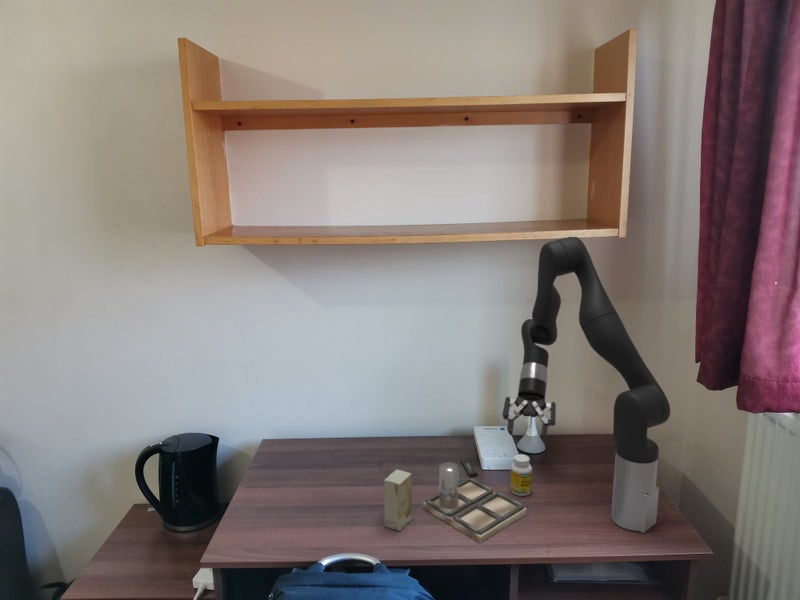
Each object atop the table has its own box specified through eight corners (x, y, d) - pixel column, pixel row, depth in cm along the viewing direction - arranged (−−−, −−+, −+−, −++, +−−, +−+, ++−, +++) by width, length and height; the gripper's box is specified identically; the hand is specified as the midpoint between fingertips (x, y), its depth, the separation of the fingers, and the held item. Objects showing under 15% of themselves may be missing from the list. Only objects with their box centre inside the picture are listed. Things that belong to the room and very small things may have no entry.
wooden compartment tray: (526, 514, 144) (526, 505, 144) (480, 543, 134) (480, 534, 133) (469, 484, 158) (469, 476, 158) (422, 508, 148) (422, 499, 147)
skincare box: (400, 532, 138) (399, 484, 135) (384, 527, 140) (383, 480, 138) (412, 518, 144) (412, 472, 141) (397, 513, 146) (396, 468, 143)
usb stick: (460, 462, 171) (460, 457, 171) (468, 461, 171) (468, 456, 171) (469, 479, 162) (469, 473, 162) (478, 478, 162) (478, 472, 162)
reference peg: (462, 504, 146) (462, 467, 144) (449, 511, 143) (449, 474, 141) (448, 496, 150) (448, 460, 148) (435, 503, 147) (435, 466, 145)
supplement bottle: (520, 483, 158) (521, 450, 156) (535, 492, 154) (536, 458, 152) (506, 489, 155) (507, 456, 153) (520, 498, 151) (521, 464, 149)
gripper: (506, 373, 167) (498, 428, 159) (558, 379, 162) (553, 435, 154) (509, 385, 173) (501, 437, 165) (559, 390, 168) (553, 444, 160)
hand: (526, 436), depth 160 cm, fingers open, 8 cm apart
